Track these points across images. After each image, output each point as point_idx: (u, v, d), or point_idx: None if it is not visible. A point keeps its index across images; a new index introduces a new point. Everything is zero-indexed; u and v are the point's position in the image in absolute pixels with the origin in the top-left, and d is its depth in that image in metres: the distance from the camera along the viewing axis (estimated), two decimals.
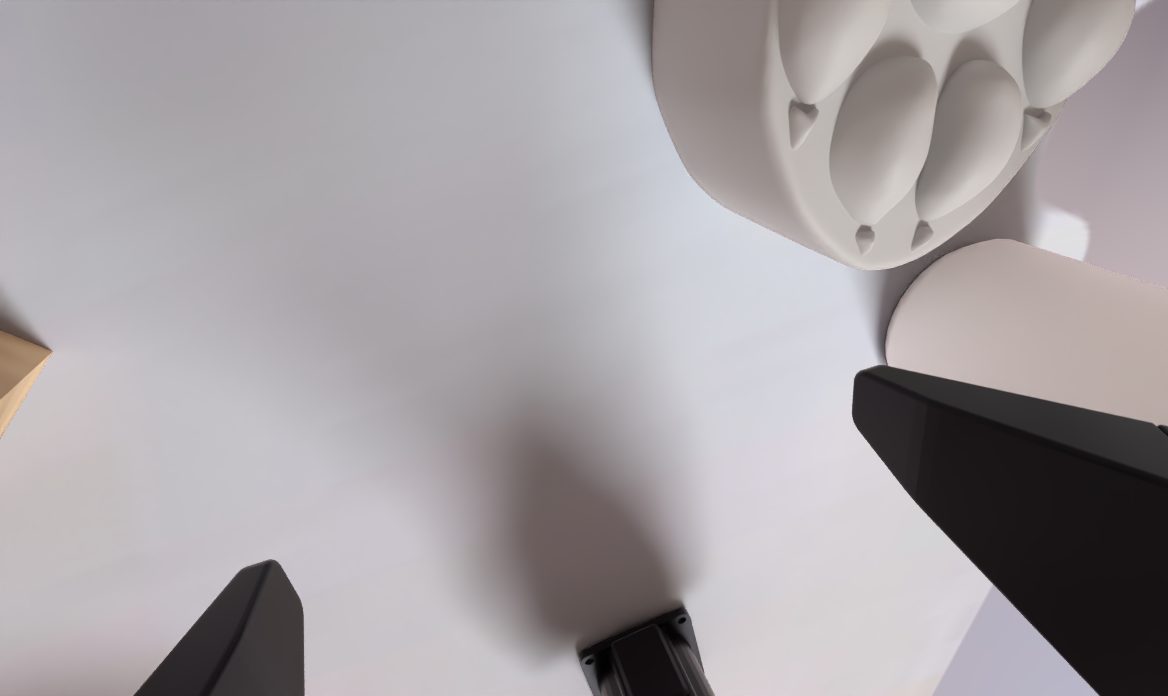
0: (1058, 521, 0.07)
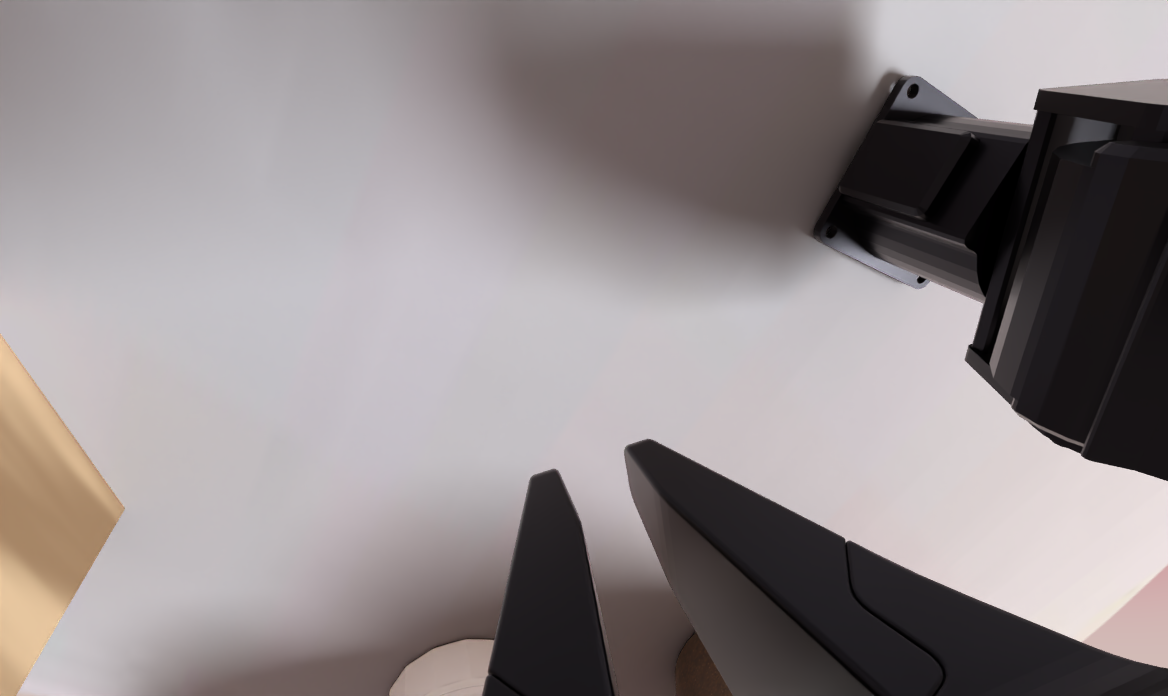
0: (752, 641, 0.06)
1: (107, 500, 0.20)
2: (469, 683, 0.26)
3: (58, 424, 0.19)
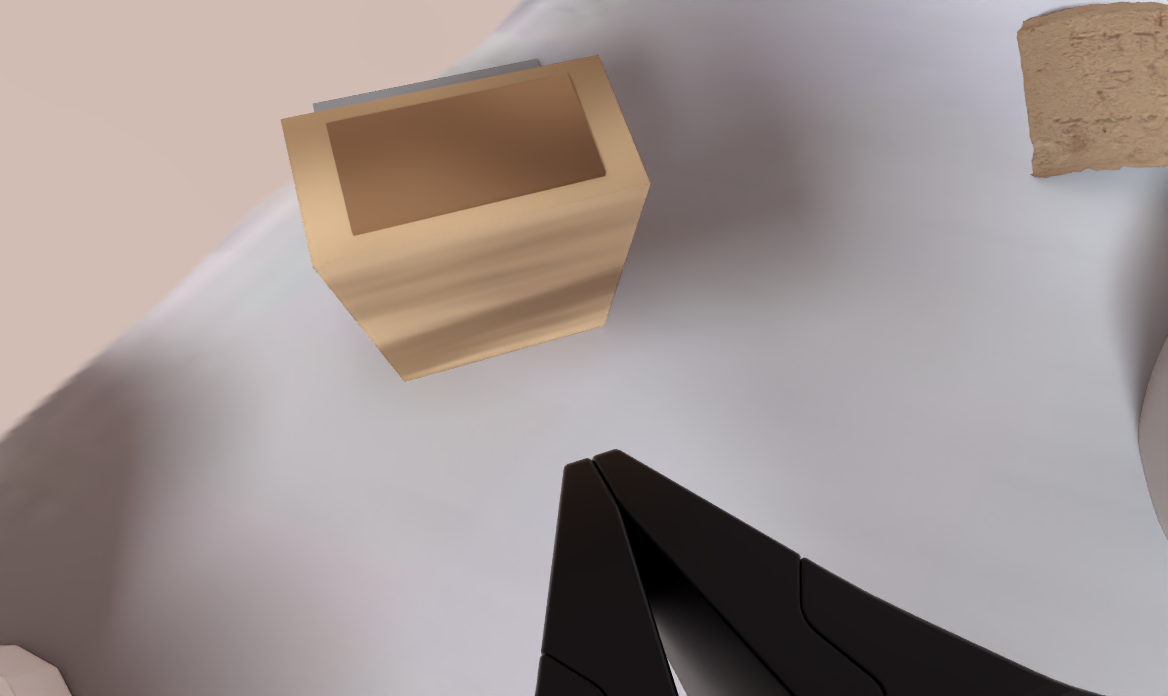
0: (708, 658, 0.06)
1: (422, 372, 0.22)
2: None
3: (501, 352, 0.23)
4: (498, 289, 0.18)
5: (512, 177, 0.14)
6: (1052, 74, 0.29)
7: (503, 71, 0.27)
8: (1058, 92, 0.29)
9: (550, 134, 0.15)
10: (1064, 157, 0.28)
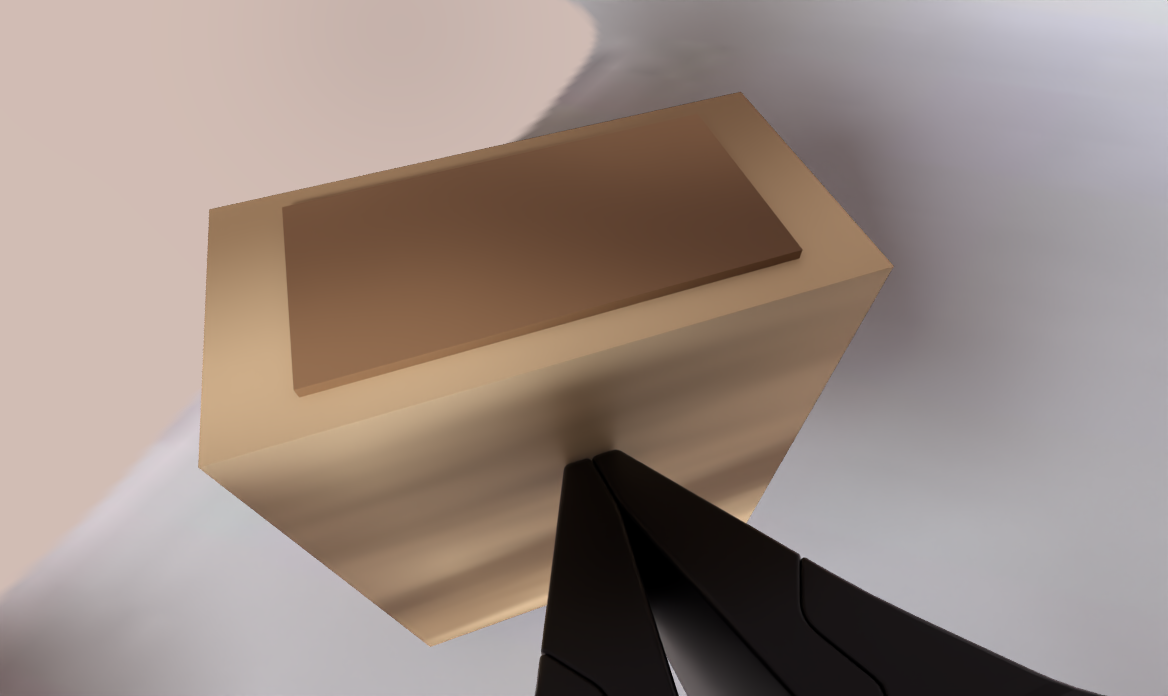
0: (708, 658, 0.06)
1: (458, 630, 0.14)
2: None
3: None
4: None
5: (620, 269, 0.07)
6: None
7: None
8: None
9: (683, 197, 0.08)
10: None
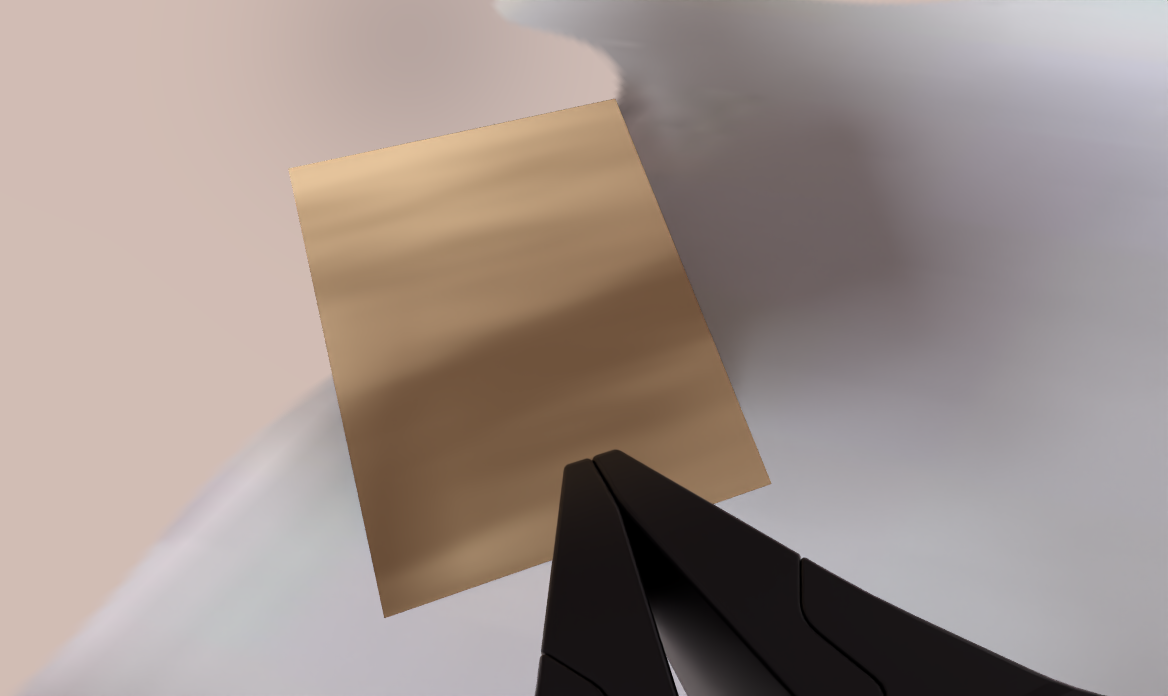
0: (708, 658, 0.06)
1: (419, 577, 0.11)
2: None
3: None
4: (502, 272, 0.13)
5: None
6: None
7: None
8: None
9: None
10: None
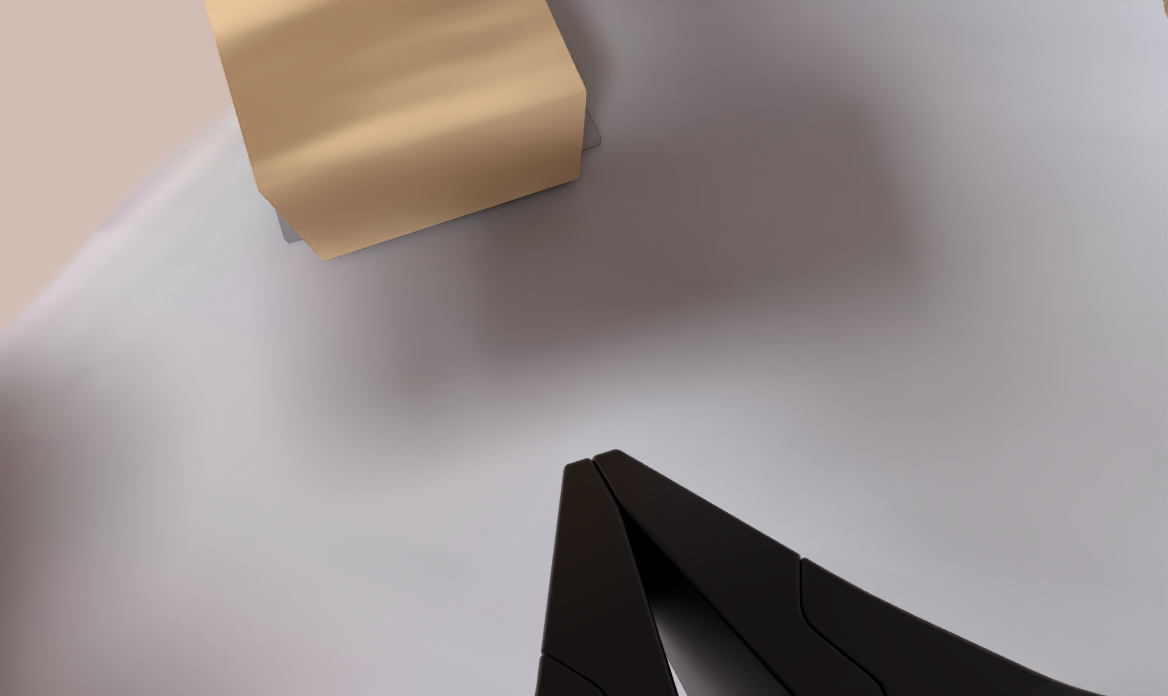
0: (708, 659, 0.06)
1: (286, 162, 0.14)
2: None
3: (416, 132, 0.14)
4: None
5: None
6: None
7: None
8: None
9: None
10: None
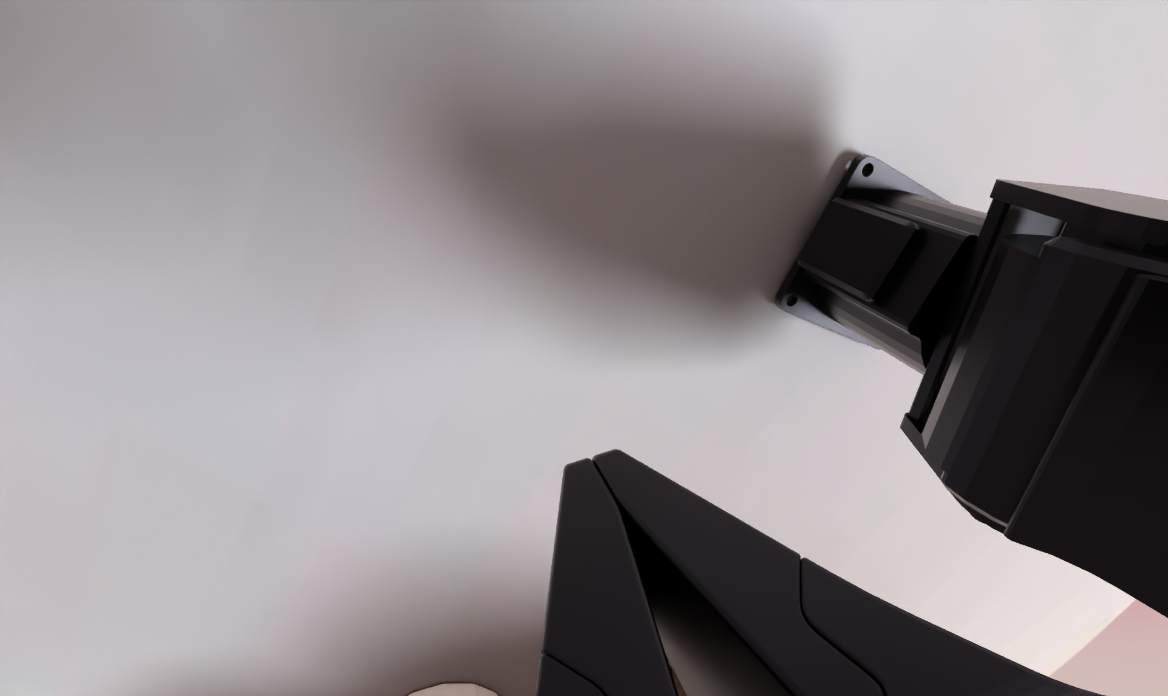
0: (708, 658, 0.06)
1: None
2: None
3: None
4: None
5: None
6: None
7: None
8: None
9: None
10: None
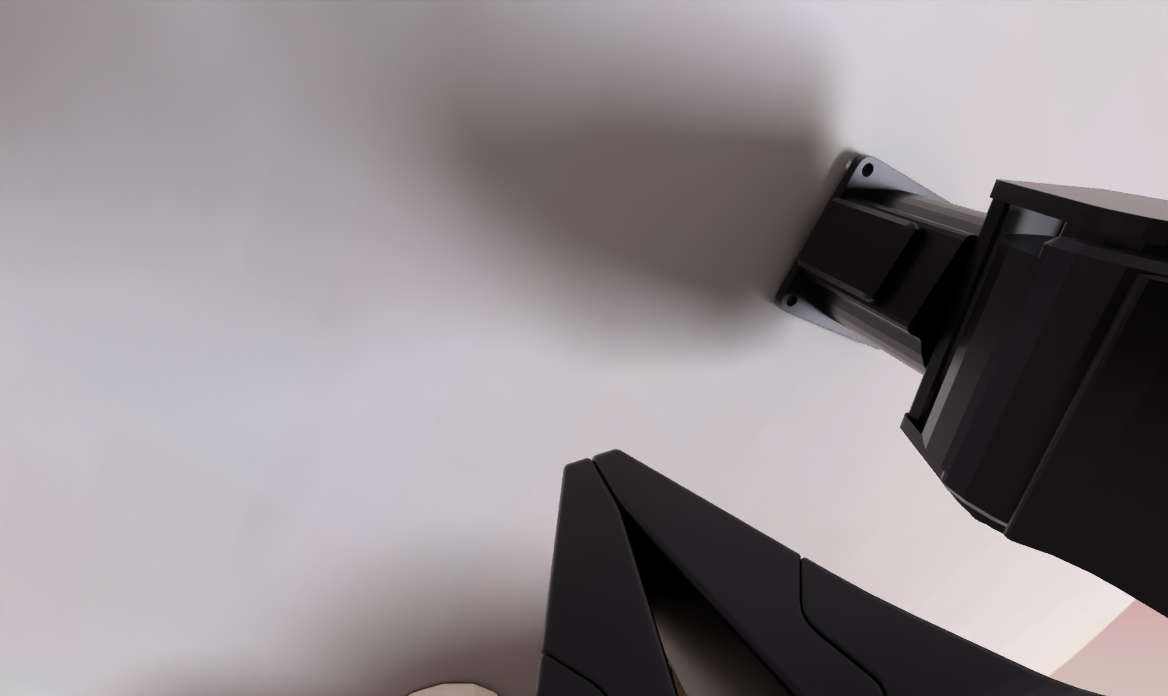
0: (708, 658, 0.06)
1: None
2: None
3: None
4: None
5: None
6: None
7: None
8: None
9: None
10: None
